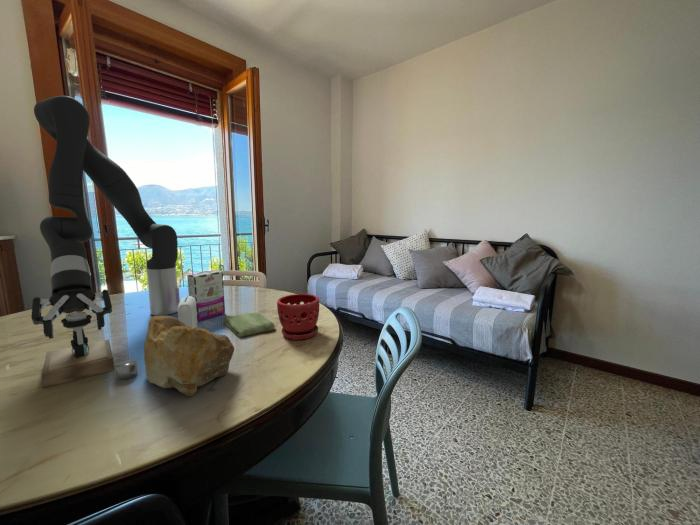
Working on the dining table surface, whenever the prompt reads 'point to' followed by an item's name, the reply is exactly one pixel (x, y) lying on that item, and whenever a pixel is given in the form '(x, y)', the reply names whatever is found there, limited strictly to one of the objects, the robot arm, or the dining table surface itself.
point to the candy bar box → (207, 293)
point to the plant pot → (298, 315)
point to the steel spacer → (126, 369)
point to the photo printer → (188, 311)
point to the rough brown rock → (184, 355)
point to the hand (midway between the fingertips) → (76, 332)
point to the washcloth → (248, 324)
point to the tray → (76, 363)
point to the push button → (78, 331)
